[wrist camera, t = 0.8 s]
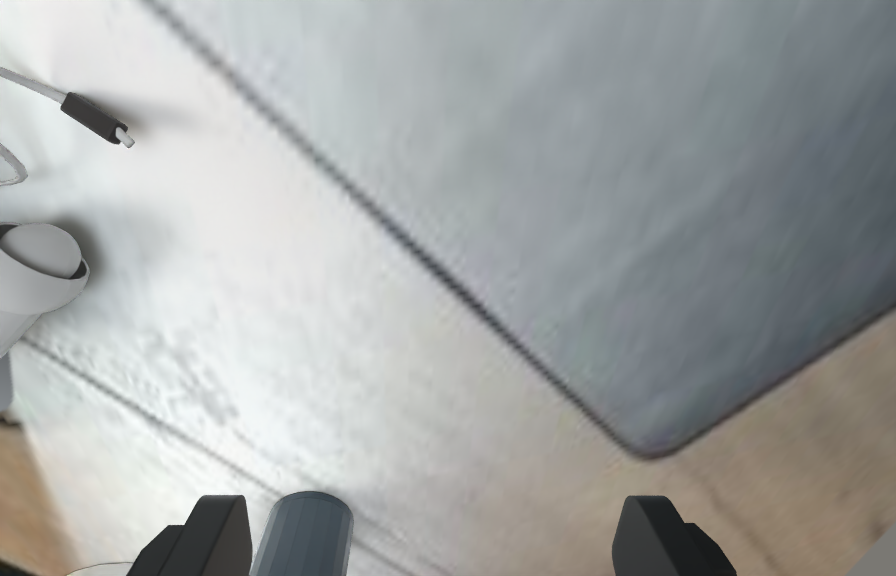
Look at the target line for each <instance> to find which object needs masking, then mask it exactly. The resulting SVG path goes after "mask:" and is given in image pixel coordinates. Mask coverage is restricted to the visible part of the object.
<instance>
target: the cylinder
mask: <svg viewBox="0 0 896 576" xmlns="http://www.w3.org/2000/svg"><path fill="white" fill-rule="evenodd" d="M132 565H133V563H119V564H102V565H97V566H93V567H89V568H85V569H81V570H77V571H74V572H72V573H70V574H69V575H67V576H126V575H127V573H128V572H129V570H130V568H131V567H132Z"/></svg>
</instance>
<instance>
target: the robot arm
mask: <svg viewBox="0 0 896 576" xmlns="http://www.w3.org/2000/svg"><path fill="white" fill-rule="evenodd" d="M252 552H253V551H252V540H251V533H250V527H249V520H248V513H247V506H246V500H245V497H244V496H243V495H204V496H202V497H201V498H200V499H199V500H198V502H197V503H196V505H195V507H194V508H193V510H192V512H191V514H190V516H189V517H188V519H187V521H186V523H185V525H168V526H167V527H166V528H165V529H164V530H163V531H162V532H161V533H160V534H158V535H157V536H156V537H155V538H154V539H153V540H152V541H151V542H150V543H149V544H148V545H147V546H146V547H145V548H143V549H142V551H141V552H140V554H139V555H138V557H137V559H136V560H135V562H134V563H133V565H132V567H131V568H130V570H129V572H128V573H127V575H126V576H249V573H250V569H251V563H252ZM612 559H613V565H614V570H615V573H616V576H737V574H736V570H735V569H734V567H733V566H732V564H731V563H730V562H729V560H728V559H727V557H726V556H725V554H724V553H723V551H722V550H721V548H720V547H719V545H718V544H717V543H715V542H714V541H713V540H712V539H711V538H710V537H709V536H708V535H707V534H706V533H704V532H703V531H702V530H701V529H700V528H699V527H698V526H697V525H696V524H695V523H684V521H683V520H682V518H681V517H680V515H679V513H678V512H677V510H676V509H675V507H674V506H673V504H672V503H671V501H670V500H669V499H668V498H667V497H665V496H628V497H627V498H626V500H625V502H624V505H623V509H622V513H621V516H620V520H619V523H618V527H617V530H616V534H615V537H614V541H613V545H612Z"/></svg>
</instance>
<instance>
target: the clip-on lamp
mask: <svg viewBox="0 0 896 576" xmlns="http://www.w3.org/2000/svg"><path fill="white" fill-rule="evenodd" d="M0 76H1V77H3V78H6V79H8V80H10V81H13V82H15V83H18V84H20V85H22V86H25V87H27V88H29V89H31V90H34V91H36V92H38V93H40V94H42V95H45V96H47V97H49V98H51V99H53V100H55V101H57V102H59V103H61V104H62V105H61V110H62V111H63V112H64V113H66V114H67V115H69V116H70V117H72V118H73V119H75V120H77V121H78V122H80V123H81V124H83V125H84V126H86V127H87V128H89V129H90V130H92V131H93V132H95V133H96V134H98V135H99V136H101V137H102V138H104V139H106V140H107V141H109V142H111V143H113V144H120V142H122V143H123V144H124V145H125V146H126V147H127V148H130V147H132V145H133V144H134V143H135V141H134V140H133V139H131V138H130V137H129V136H128V135H127V134H126V132H127V130H128V127H127V126H126V125H125V124H123V123H122V122H120V121H118V120H117V119H115V118H114V117H112V116H111V115H109V114H107V113H106V112H104V111H103V110H101V109H100V108H98V107H96V106H95V105H93V104H92V103H90V102H89V101H87V100H85V99H84V98H82V97H81V96H79V95H77V94H75V93H71V92H69V93H68V94H67V96H66V95H64V94H62V93H60V92H58V91H56V90H53V89H51V88H49V87H47V86H45V85H43V84H40V83H38V82H36V81H34V80H31V79H29V78H27V77H24V76H22V75H20V74H17V73H15V72H12V71H10V70H7V69H5V68H2V67H0ZM0 156H1V157H3V158H4V159H5V160H6V161H7V162H8V163H9V164H10V165H11V166H12V167H13V168H14V170H15V172H16V174H17V175H18V176H17V177H16V178H15V179H12V180H8V181H0V186H4V185H13V184H17V183H21V182H23V181H24V180H25V179H26V178H27V176H28V175H27V172H26V170H25V167H24V165H23V164H22V163H21V162H20V161H19V160H18V159H17V158H16V157H15V156H14V155H13V154H12V153H11V152H10V151H9V150H8V149H6V148H5V147H4V146H3V145H2V144H1V143H0ZM89 273H90V269H89V267H88V264H87V262H86V261H85V260H84V259H83V257H82V256H81V252H80V248H79V246H78V244H77V242H76V241H75V239H74V238H73V237H72V236H71V235H70V234H69V233H67V232H66V231H64V230H62V229H60V228H58V227H56V226H53V225H49V224H42V223H30V224H25V225H22V224H18V223H11V222H0V359H1V358H2V357H3V356H4V355H5V354H6V353H7V352H8V350H9V349H10V348H11V347H12V346H13V345H14V344H15V343H16V342H17V341H18V340H19V338H20V337H21V336H22V335H23V334H24V333H25V332H26V331H27V330H28V329H29V328H30V326H31V325H32V324H33V323H34V322H35V321H36V320H37V319H38V318H39V317H40V316H41V315H42V313H47V312H50V311H54V310H56V309H59V308H61V307H63V306H64V305H66V304H67V303H69V302H71V301H72V300H74V299H75V298H76V297H77V296H78V295H79V294H80V293H81V292H82V290H83V289H84V287H85V285H86V283H87V280H88V277H89Z"/></svg>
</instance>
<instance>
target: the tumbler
mask: <svg viewBox="0 0 896 576" xmlns="http://www.w3.org/2000/svg"><path fill="white" fill-rule="evenodd" d="M353 525H354V520H353V516H352V513H351V511H350V510H349V508H348V507H347V506H346V505H345V504H344V503H343V502H342V501H340V500H339V499H337V498H335V497H333V496H331V495H328V494H324V493H319V492H299V493H295V494H291V495H289V496H286V497H284V498H283V499H281V500H280V501H278V502H277V503H276V504H275V505H274V507H273V508H272V510H271V512H270V514H269V517H268V519H267V521H266V524H265V527H264V530H263V533H262V536H261V539H260V541H259V544H258V547H257V550H256V553H255V556H254V559H253V561H252V564H251V569H250V573H249V576H346V573H347V566H348V560H349V553H350V546H351V539H352V532H353Z"/></svg>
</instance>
